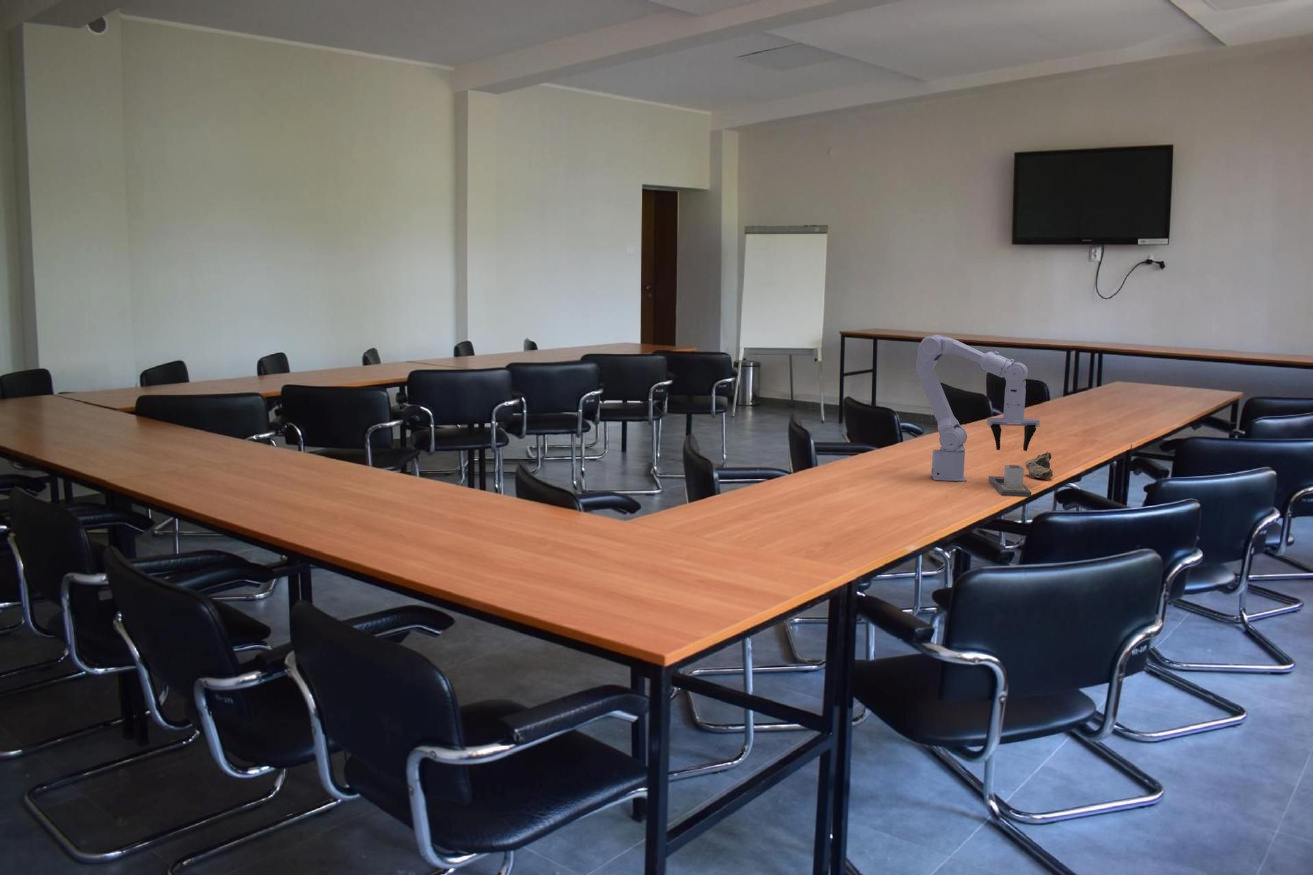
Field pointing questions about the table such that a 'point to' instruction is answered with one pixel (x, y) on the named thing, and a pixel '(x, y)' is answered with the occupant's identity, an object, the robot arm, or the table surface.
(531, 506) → the table surface
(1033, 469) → the rock
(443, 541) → the table surface
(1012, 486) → the grey upright block
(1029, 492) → the rail plate
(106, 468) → the table surface
